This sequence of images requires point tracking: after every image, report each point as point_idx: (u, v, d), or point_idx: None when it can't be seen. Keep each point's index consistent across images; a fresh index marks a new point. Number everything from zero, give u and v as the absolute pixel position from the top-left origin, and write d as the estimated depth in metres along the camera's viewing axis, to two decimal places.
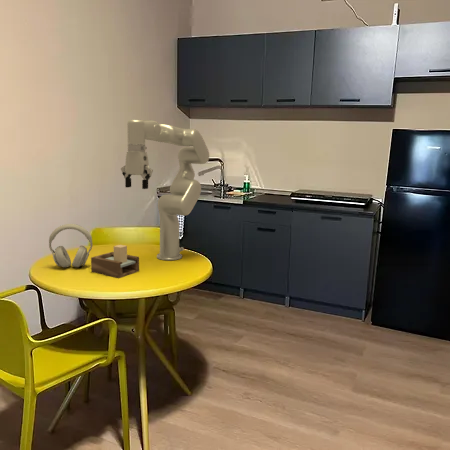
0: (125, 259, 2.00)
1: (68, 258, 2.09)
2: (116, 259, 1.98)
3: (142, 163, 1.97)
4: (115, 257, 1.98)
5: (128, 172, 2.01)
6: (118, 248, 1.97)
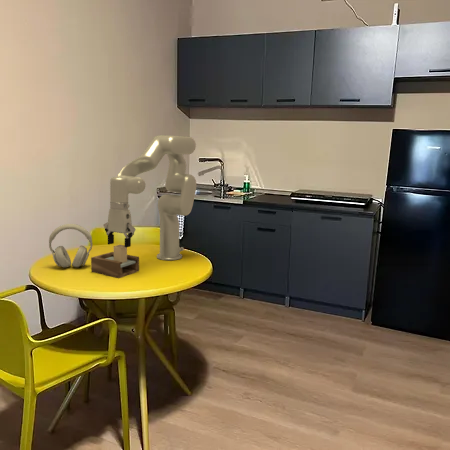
0: (125, 259, 2.00)
1: (68, 258, 2.09)
2: (116, 259, 1.98)
3: (124, 221, 1.93)
4: (115, 257, 1.98)
5: (110, 229, 1.97)
6: (118, 248, 1.97)
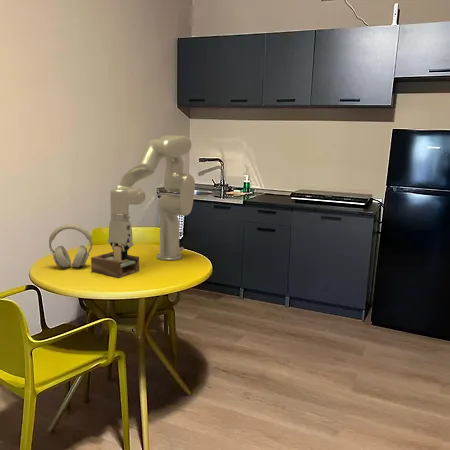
0: None
1: (68, 258, 2.09)
2: (116, 259, 1.98)
3: (125, 233, 1.94)
4: (115, 257, 1.98)
5: (111, 240, 1.98)
6: (118, 248, 1.97)
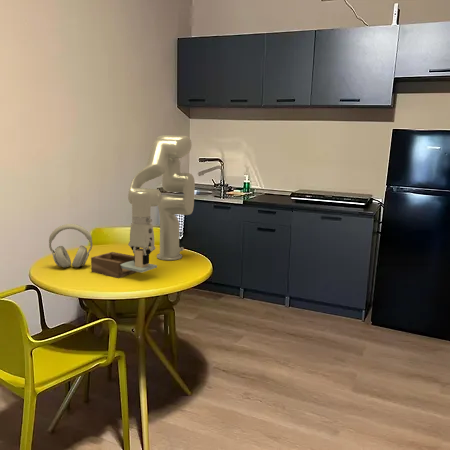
0: None
1: (68, 258, 2.09)
2: (137, 263, 1.92)
3: (147, 236, 1.88)
4: (136, 261, 1.92)
5: (133, 244, 1.92)
6: (139, 252, 1.91)
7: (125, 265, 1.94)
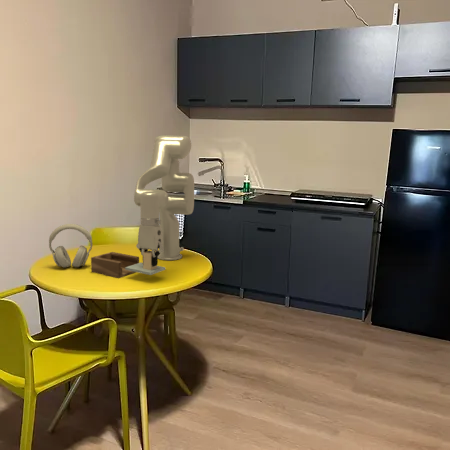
0: None
1: (68, 258, 2.09)
2: (146, 266, 1.90)
3: (156, 238, 1.86)
4: (145, 263, 1.90)
5: (141, 246, 1.90)
6: (148, 254, 1.89)
7: (133, 267, 1.92)
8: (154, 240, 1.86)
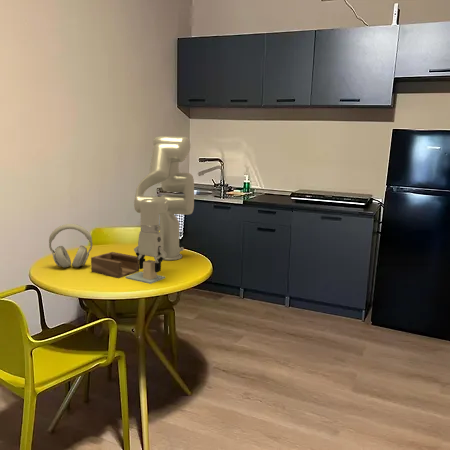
0: (155, 275, 1.92)
1: (68, 258, 2.09)
2: (146, 275, 1.91)
3: (156, 245, 1.86)
4: (145, 273, 1.91)
5: (141, 253, 1.90)
6: (148, 264, 1.90)
7: (133, 277, 1.93)
8: (154, 247, 1.86)
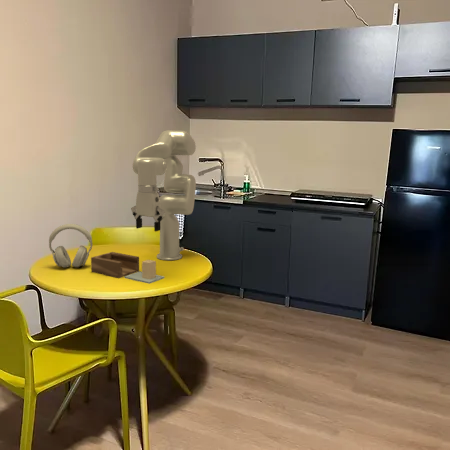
0: (154, 275, 1.93)
1: (68, 258, 2.09)
2: (145, 275, 1.91)
3: (154, 205, 1.87)
4: (144, 273, 1.91)
5: (139, 213, 1.92)
6: (147, 263, 1.90)
7: (132, 276, 1.93)
8: (152, 207, 1.87)
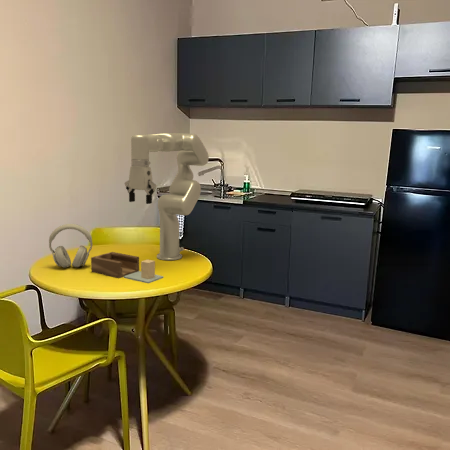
0: (153, 275, 1.93)
1: (68, 258, 2.09)
2: (144, 275, 1.91)
3: (146, 178, 1.97)
4: (143, 273, 1.92)
5: (132, 187, 2.01)
6: (146, 263, 1.90)
7: (131, 276, 1.93)
8: (144, 180, 1.97)
